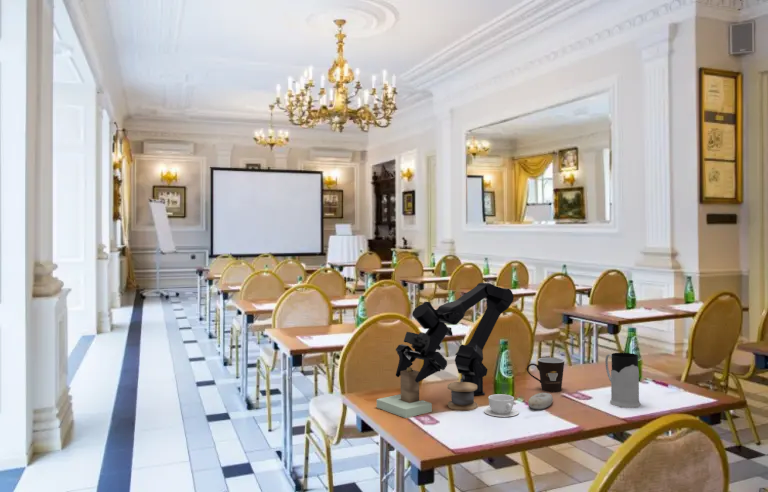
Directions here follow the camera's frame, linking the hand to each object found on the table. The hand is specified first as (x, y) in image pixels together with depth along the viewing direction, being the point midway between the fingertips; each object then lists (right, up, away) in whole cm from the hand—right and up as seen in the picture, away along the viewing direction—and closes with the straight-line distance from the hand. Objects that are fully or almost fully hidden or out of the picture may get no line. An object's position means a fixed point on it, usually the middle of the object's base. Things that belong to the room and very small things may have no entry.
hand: (406, 378), depth 177 cm
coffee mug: (+48, -8, +21) cm, 53 cm away
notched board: (-1, -9, -1) cm, 9 cm away
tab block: (+1, -9, +1) cm, 9 cm away
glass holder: (+67, -8, +5) cm, 67 cm away
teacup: (+28, -9, -5) cm, 30 cm away
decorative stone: (+42, -9, +2) cm, 43 cm away
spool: (+17, -9, +2) cm, 20 cm away
